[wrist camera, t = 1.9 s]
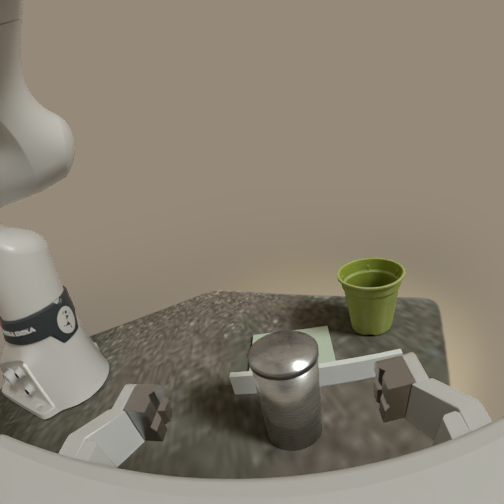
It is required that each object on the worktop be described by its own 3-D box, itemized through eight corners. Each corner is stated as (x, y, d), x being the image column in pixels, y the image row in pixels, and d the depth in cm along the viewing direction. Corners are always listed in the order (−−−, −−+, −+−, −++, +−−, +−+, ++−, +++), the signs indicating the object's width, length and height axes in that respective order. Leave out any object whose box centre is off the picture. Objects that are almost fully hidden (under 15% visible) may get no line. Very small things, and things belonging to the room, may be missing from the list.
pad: (248, 383, 36) (247, 380, 36) (253, 337, 46) (253, 335, 45) (337, 372, 35) (337, 370, 35) (327, 327, 44) (327, 325, 44)
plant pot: (368, 353, 37) (369, 296, 34) (327, 324, 45) (323, 272, 42) (414, 324, 40) (418, 269, 37) (372, 301, 48) (371, 252, 45)
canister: (265, 453, 26) (244, 378, 22) (268, 412, 31) (250, 334, 27) (325, 447, 25) (322, 369, 21) (320, 406, 30) (314, 326, 27)
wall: (234, 394, 35) (229, 377, 34) (235, 390, 35) (230, 372, 34) (400, 371, 32) (402, 352, 31) (398, 367, 33) (400, 348, 32)
